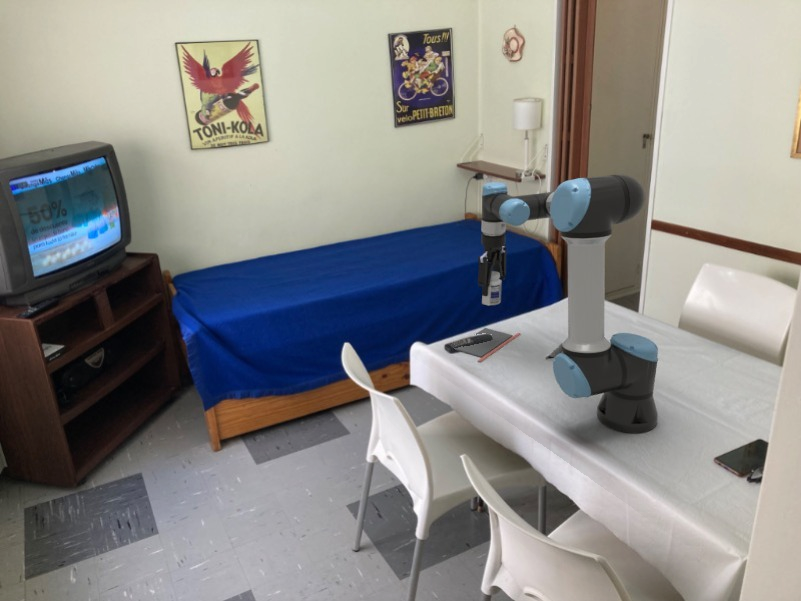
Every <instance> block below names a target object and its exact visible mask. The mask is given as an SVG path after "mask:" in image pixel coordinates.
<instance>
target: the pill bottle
mask: <svg viewBox="0 0 801 601" xmlns="http://www.w3.org/2000/svg"><path fill="white" fill-rule="evenodd" d="M499 278H500V273H499V272H496V271H494V270H492V274H491V279H490V285H489V286H491V303H490V306H496V305H499V304H500V303H501V301H502V283H501V280H500V279H499Z"/></svg>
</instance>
